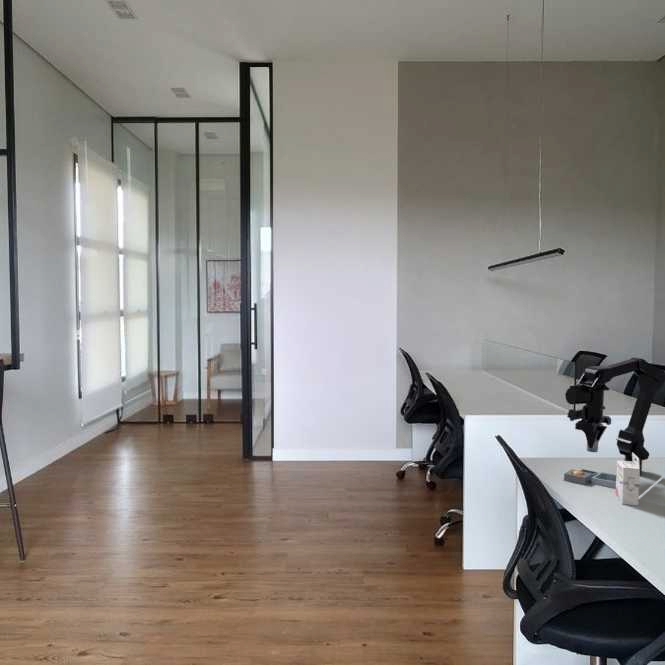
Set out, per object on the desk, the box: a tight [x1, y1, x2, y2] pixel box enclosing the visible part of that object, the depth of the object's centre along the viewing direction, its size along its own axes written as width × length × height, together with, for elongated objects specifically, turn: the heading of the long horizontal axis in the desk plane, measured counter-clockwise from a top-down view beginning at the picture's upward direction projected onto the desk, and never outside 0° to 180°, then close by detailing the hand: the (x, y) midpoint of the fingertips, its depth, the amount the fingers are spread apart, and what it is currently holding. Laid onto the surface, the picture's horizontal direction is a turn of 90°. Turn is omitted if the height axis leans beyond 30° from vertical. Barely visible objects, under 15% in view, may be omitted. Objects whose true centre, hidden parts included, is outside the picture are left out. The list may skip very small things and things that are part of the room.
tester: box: [563, 468, 599, 486], centre depth 213 cm, size 16×8×3 cm, turn 139°
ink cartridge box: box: [615, 452, 641, 506], centre depth 191 cm, size 9×5×15 cm, turn 168°
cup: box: [591, 471, 617, 490], centre depth 207 cm, size 9×9×2 cm
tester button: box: [574, 470, 583, 476], centre depth 209 cm, size 3×3×2 cm
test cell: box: [586, 439, 599, 453], centre depth 214 cm, size 4×4×4 cm
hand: (592, 447), depth 214 cm, fingers closed on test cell, 4 cm apart
